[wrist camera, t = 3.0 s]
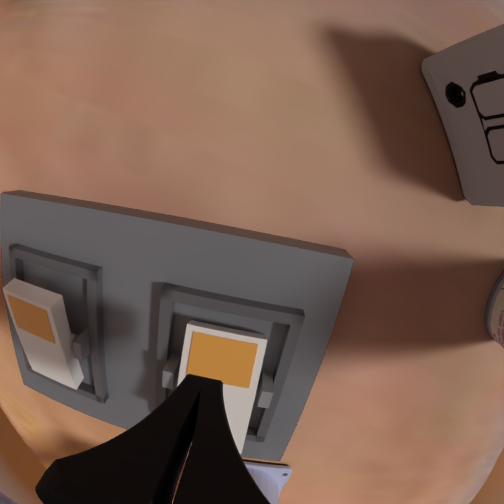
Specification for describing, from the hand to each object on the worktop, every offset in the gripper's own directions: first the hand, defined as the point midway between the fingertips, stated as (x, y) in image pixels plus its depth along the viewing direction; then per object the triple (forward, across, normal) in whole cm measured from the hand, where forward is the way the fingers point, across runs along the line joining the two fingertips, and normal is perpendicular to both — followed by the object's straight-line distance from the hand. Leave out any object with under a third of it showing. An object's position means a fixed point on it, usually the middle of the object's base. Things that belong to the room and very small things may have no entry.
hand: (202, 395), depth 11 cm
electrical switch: (+8, -13, -15) cm, 21 cm away
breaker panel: (+7, +5, +3) cm, 9 cm away
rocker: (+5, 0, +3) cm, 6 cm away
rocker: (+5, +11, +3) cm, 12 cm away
